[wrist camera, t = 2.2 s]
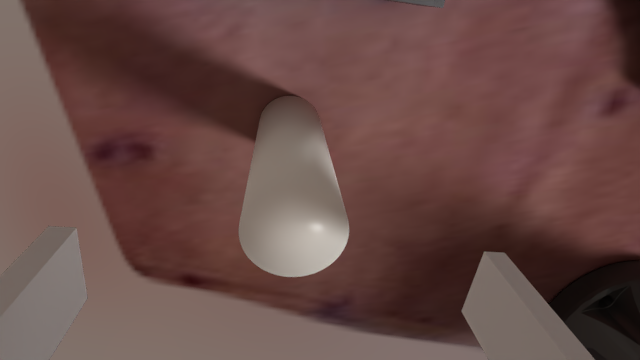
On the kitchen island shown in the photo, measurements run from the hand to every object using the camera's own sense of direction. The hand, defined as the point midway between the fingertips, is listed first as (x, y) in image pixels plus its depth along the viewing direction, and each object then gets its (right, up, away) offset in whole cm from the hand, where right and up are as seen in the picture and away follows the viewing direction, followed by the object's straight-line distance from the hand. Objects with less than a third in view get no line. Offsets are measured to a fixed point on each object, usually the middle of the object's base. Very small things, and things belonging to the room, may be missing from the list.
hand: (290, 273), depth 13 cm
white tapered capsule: (-1, +7, +15) cm, 17 cm away
